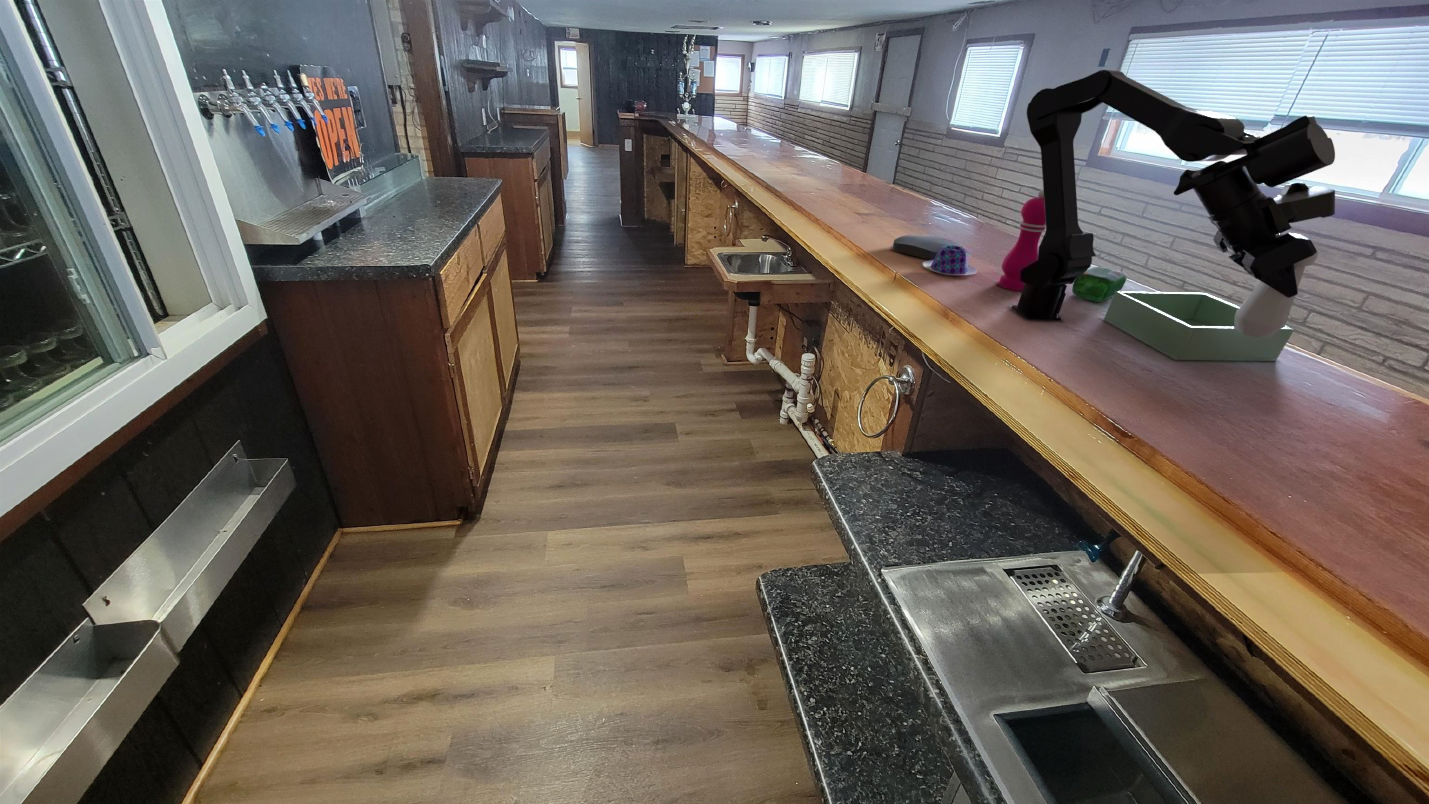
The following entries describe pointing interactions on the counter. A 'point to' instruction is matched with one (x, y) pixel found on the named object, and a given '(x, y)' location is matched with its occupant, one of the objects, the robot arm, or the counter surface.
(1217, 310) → the bin
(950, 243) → the media streaming box
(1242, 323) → the salt shaker
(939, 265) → the patterned bucket hat
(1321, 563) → the counter surface
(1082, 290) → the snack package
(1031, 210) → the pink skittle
